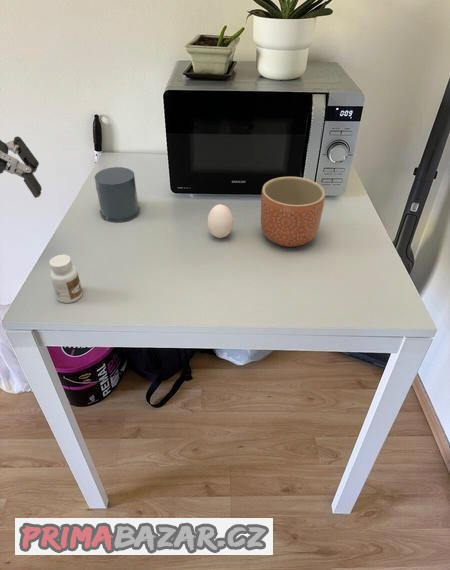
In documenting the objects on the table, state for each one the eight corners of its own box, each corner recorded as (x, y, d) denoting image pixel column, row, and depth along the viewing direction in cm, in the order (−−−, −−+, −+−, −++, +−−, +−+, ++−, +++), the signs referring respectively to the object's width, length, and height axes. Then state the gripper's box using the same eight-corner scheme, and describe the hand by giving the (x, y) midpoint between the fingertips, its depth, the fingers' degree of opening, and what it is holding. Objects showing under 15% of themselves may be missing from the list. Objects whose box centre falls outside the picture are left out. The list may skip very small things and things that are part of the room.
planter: (321, 255, 88) (330, 206, 81) (259, 253, 88) (263, 205, 81) (313, 222, 98) (320, 176, 91) (257, 221, 98) (260, 175, 91)
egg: (236, 240, 92) (237, 209, 87) (212, 245, 91) (212, 214, 86) (227, 227, 96) (227, 197, 91) (204, 232, 94) (203, 201, 90)
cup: (104, 226, 96) (97, 188, 90) (96, 206, 102) (89, 170, 97) (145, 217, 99) (140, 180, 93) (134, 199, 105) (129, 163, 99)
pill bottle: (79, 304, 77) (69, 268, 72) (53, 303, 77) (42, 268, 72) (85, 287, 80) (77, 252, 75) (61, 287, 80) (51, 252, 75)
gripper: (-88, 118, 66) (-24, 212, 67) (3, 96, 74) (58, 180, 76) (-86, 144, 72) (-28, 229, 73) (-2, 121, 80) (48, 198, 82)
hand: (15, 204), depth 75 cm, fingers open, 8 cm apart
